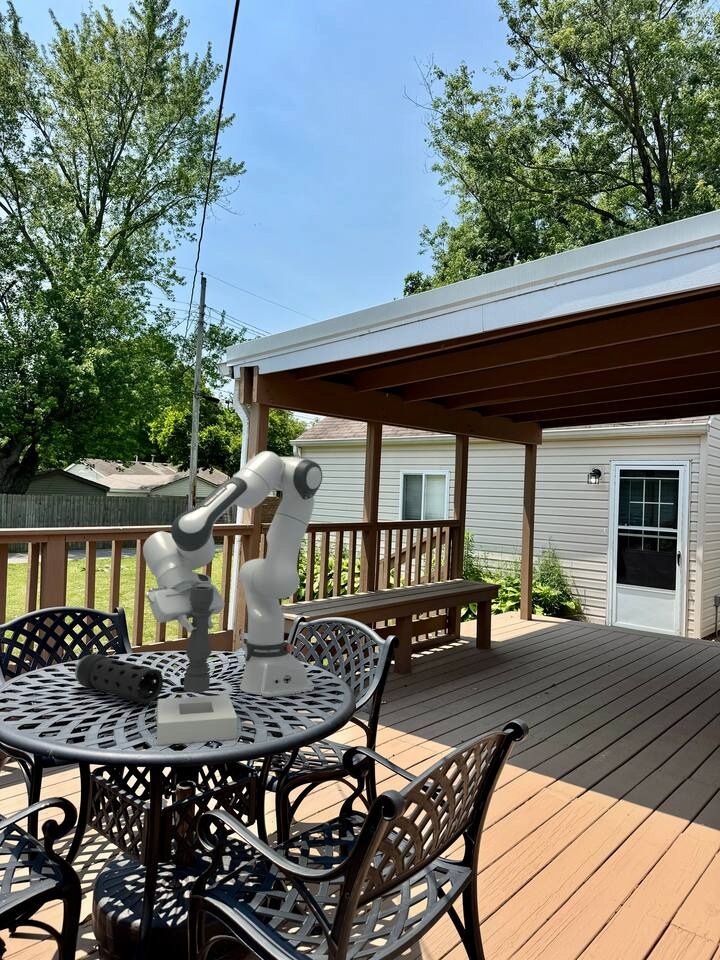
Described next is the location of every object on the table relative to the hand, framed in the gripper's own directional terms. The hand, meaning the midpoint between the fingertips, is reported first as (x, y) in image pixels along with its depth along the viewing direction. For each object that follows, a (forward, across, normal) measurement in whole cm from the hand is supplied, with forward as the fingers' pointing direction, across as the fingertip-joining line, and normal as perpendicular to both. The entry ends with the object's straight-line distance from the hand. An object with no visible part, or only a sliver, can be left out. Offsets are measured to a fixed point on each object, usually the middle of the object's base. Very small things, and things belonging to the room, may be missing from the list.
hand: (201, 629), depth 153 cm
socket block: (+17, 0, +18) cm, 24 cm away
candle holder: (+10, 0, +11) cm, 15 cm away
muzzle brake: (-8, +2, +43) cm, 44 cm away
